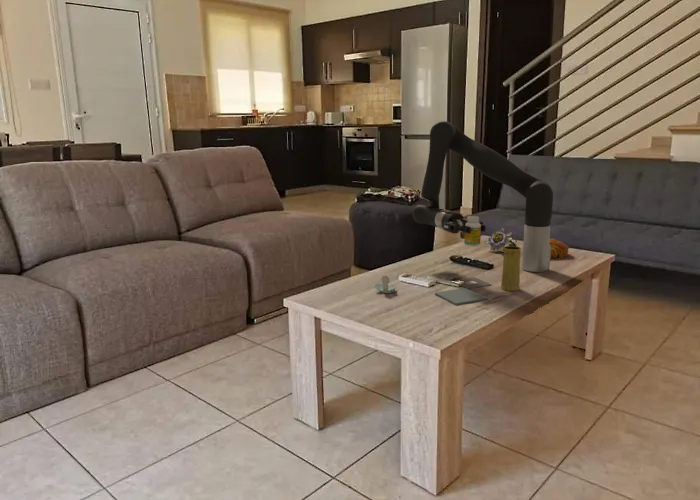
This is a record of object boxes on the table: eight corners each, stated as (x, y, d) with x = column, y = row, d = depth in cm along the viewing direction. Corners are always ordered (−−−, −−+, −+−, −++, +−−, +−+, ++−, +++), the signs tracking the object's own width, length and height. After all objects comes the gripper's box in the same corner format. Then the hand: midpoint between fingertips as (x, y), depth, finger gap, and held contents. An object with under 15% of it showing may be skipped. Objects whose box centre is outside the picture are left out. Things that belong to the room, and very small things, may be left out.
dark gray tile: (474, 277, 197) (474, 277, 197) (491, 285, 188) (491, 284, 188) (450, 281, 193) (450, 280, 193) (467, 289, 185) (467, 288, 184)
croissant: (528, 262, 226) (528, 244, 223) (536, 249, 238) (536, 232, 236) (565, 265, 219) (565, 246, 216) (571, 251, 231) (572, 234, 229)
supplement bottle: (471, 247, 184) (472, 219, 182) (461, 244, 189) (461, 216, 187) (483, 245, 187) (484, 217, 184) (473, 242, 191) (474, 214, 189)
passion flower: (495, 264, 235) (479, 241, 235) (503, 254, 243) (488, 232, 243) (517, 253, 228) (500, 230, 228) (524, 243, 236) (508, 221, 236)
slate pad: (465, 289, 184) (465, 287, 184) (487, 299, 173) (487, 297, 173) (434, 294, 180) (434, 292, 179) (455, 305, 169) (455, 303, 169)
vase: (520, 291, 181) (522, 250, 177) (501, 290, 182) (503, 249, 179) (518, 286, 187) (520, 245, 183) (500, 285, 188) (502, 245, 184)
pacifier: (381, 288, 188) (373, 292, 183) (381, 270, 187) (373, 274, 182) (400, 291, 184) (392, 295, 179) (400, 273, 183) (392, 277, 178)
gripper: (432, 212, 195) (460, 220, 180) (466, 209, 201) (495, 216, 186) (432, 233, 197) (459, 242, 182) (465, 229, 203) (494, 238, 188)
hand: (477, 229), depth 184 cm, fingers closed on supplement bottle, 5 cm apart
